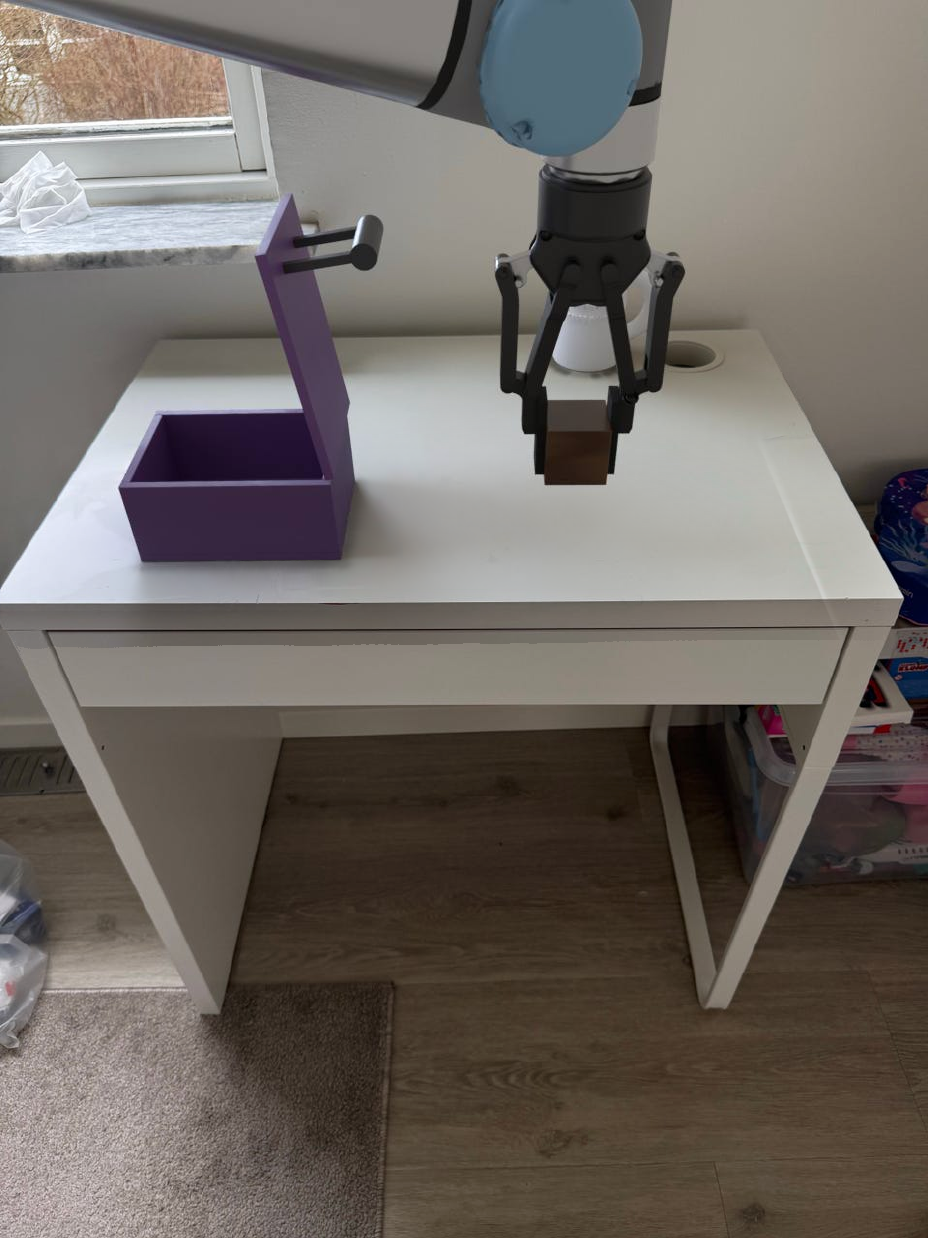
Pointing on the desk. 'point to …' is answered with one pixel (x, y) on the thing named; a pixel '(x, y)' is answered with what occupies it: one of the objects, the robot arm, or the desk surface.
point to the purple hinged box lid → (312, 316)
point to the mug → (596, 333)
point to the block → (577, 442)
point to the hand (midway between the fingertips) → (573, 464)
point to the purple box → (235, 488)
